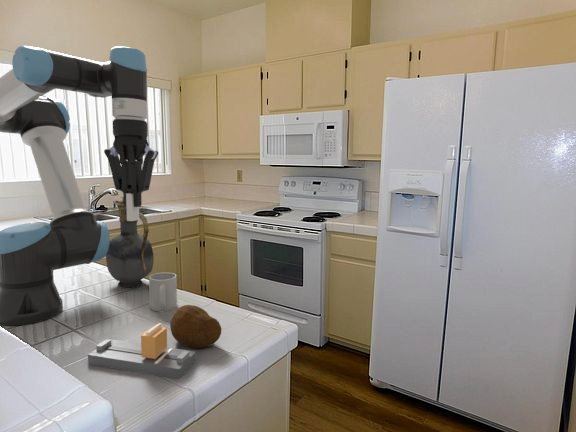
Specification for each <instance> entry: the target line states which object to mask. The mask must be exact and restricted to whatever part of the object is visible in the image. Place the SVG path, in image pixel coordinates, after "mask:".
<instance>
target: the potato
mask: <svg viewBox="0 0 576 432" xmlns="http://www.w3.org/2000/svg"><path fill="white" fill-rule="evenodd" d="M169 322H170V333H171V335H172V337H173V338H174V340H175V341H176V342H177V343H178V344H181V345H184V346H187V347H189V348H194V349H204V348H208V347H210V346H212V345H214V344H215V343H216V342H217V341H218V340H219V339H220V337H221V335H222V326H221V324H220V321H219V320H217V318H214V317H213V316H211V315H210V314H209V313H208V312H207V311H206V310H205V309H204V308H202V307H199V306H198V305H192V304H185V305H182V306H180V307H179V308H177V309H176V310H175V312H174V313H173V315H172V316H171V320H170V321H169Z"/></svg>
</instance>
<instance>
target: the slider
mask: <svg viewBox="0 0 576 432" xmlns="http://www.w3.org/2000/svg"><path fill="white" fill-rule="evenodd" d="M167 328H168V327H162V323H161V322H160V323H159V322H158V323H157V324H156V325H154V326H151V327H150V328H149V329H148V330H146V331H145V332H143V333H142V334H140V344H141V355H142V357H145V358H152V359H156V358H157V357H158V356H159V355H160V354H161V353H163V352H164V351H165V350H166V349H167V347H168V337H167V336H168V333H167V332H168V331H167V330H168V329H167Z"/></svg>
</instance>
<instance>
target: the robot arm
mask: <svg viewBox="0 0 576 432" xmlns="http://www.w3.org/2000/svg"><path fill="white" fill-rule="evenodd" d="M108 59H109V61H105V62H101V61H95V60H91V59H86V58H83V57H82V58H81V57H78V56H72V55H68V54H64V53H60V52H56V51H51V50H47V49H44V48H42V47H35V46H34V47H33V46H29V45H28V46H27V45H20V46H18V47H17V48H16V49H15V51H14V54H13V55H12V65H11V66H12V68H11V69H10V70H9V71H7V72H6V73H5V74H3V75H2V76H0V133H7V134H19V136H20V138H21V140H22V142H23V144H25V145H26V146H29V147H30V148H31V150H30V151H31V152H32V156H33V159H34V162H35V165H36V168H37V171H38V175H39V177H40V181H41V184H42V186H43V189H44V193H45V196H46V199H47V203H48V205H49V209H50V212H51V214H52V219H51V220H50V222H44V221H35V222H26V223H20V224H17V225H16V224H15V225H13V226H12V225H11V226H8V227H6V228H3V229H2V230H0V324H1V325H2V326H22V325H24V326H25V325H29V324H33V323H34V324H35V323H38V322H42V321H46V320H49V319H51V318H53V317H55V316H57V315H59V314H60V313H61V312H62V311H63V309H64V307H63V304H64V303H63V298H62V297H61V296H60V294H59V291H58V289H57V286H56V284H55V281H54V271H56V270H60V269H64V268H65V269H66V268H71V267H75V266H80V265H85V264H86V265H89V264H91V263H94V262H98V261H101V260H102V259H104V258H106V254H107V252H108V249H109V244H110V240H111V239H110V238H111V237H110V231H109V229H108V226H107V224H106V223H105V222H104V221H101V220H96V217H95V215H94V214H95V213H94V212H92V211H90V210H88V209H86V205H85V203H84V199H83V196H82V193H81V191H80V187H79V185H78V182H77V178H76V176H75V173H74V170H73V167H72V163H71V161H70V158H69V155H68V152H67V150H66V149H67V148H66V146H65V144H64V143H65V142H64V140H66V138H67V134H68V133H69V131H70V127H71V123H70V115H69V112H68V111H69V110H68V109H67V108H66V106H65V104H64V103H63V102H62V101H61V100H59V99H57V98H54V97H49V96H46V94H47V93H49V92H52V91H53V90H57V89H58V90H64V91H70V92H76V93H81V94H82V93H83V94H86V95H89V96H90V97H94V98H101V99H102V98H107V97H108V98H109V97H111V110H112V112H111V113H112V117H113V118H115V119H113V120H112V135H113V136H114V141H113V143H112V146H111V147H110V148H109V149H108V148H107V149H106V148H105V149H104V151H103V153H104V155H105V156H106V158H107V160H108V164H109V169H110V172H111V175H112V179H113V180H112V181H113V185H114V188H115V190H116V191H120V192H122V194H123V196H122V197H124V206H126V207H127V221H136V220H138V221H139V220H140V218H139V213H140V207H142V201H143V200H142V193H143V192H146V191H149V189H150V186H151V185H150V184H151V181H152V177H153V176H152V175H153V171H154V164H155V161H156V159H157V157H158V155H159V151H158V150H154V149H152V147H150V144H149V142H148V136H149V135H148V134H149V131H148V128H149V127H148V122H147V121H146V120H147V119H148V100H147V99H148V95H147V94H148V87H147V83H148V81H147V78H148V75H147V72H148V68H147V61H146V55H145V53H144V52H143V51H141V50H140V49H138V48H134V47H130V46H120V45H119V46H113V47H112V48H110V52H109V58H108Z"/></svg>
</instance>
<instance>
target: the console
mask: <svg viewBox="0 0 576 432" xmlns="http://www.w3.org/2000/svg"><path fill="white" fill-rule="evenodd" d="M95 348H96V349H94V350H92V351H91V352H89V353H88V354H87V362H88V363H87V364H88V365H92V366H98V367H102V368H111V369H117V370H122V371H129V372H135V373H140V374H147V375H153V376H159V377H164V378H165V377H166V378H170V379H176V380H177V379H178V380H179V379H180V378H182V376H183V375H184V374H186V372H187V371H188V370H189V369H190V368H191V367H192V365H193V364H194V363H195V362H196V360H197V352H196V351H195V350H188V349H180V348H173V347H168V346H167V349H166V350H165V351H164V352H163V353H161V354H160V355H159V356H158V357H157V358H156V359H152V358H145V357H142V355H141V342H140V343H139V342H133V341H126V340H119V339H108V338H107V339H104V340H103V341H101V342H100V343H98V344H97V345H96V347H95Z"/></svg>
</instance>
